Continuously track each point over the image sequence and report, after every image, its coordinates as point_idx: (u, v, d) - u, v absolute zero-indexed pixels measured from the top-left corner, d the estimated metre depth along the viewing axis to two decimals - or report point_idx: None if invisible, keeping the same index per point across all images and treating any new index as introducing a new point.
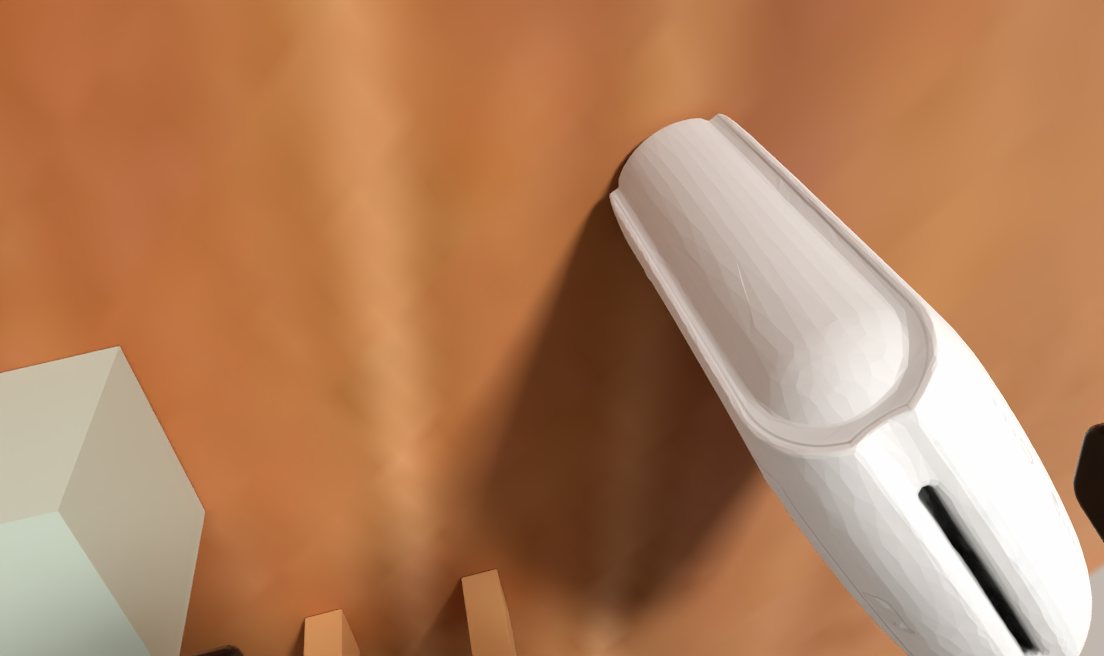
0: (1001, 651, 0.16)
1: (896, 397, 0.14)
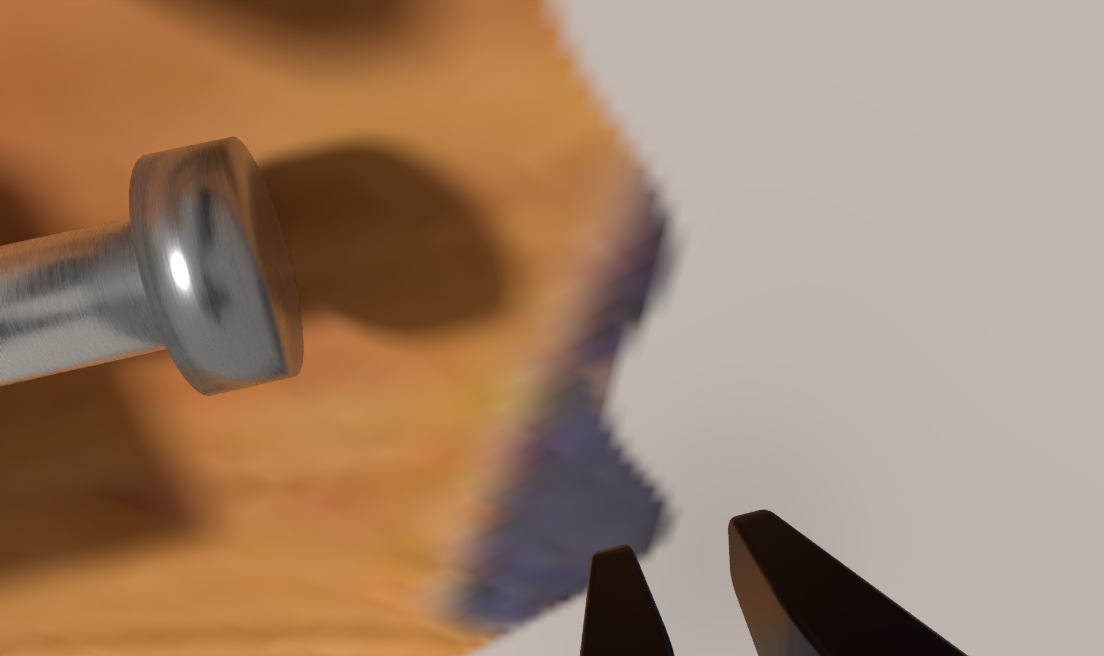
0: None
1: None
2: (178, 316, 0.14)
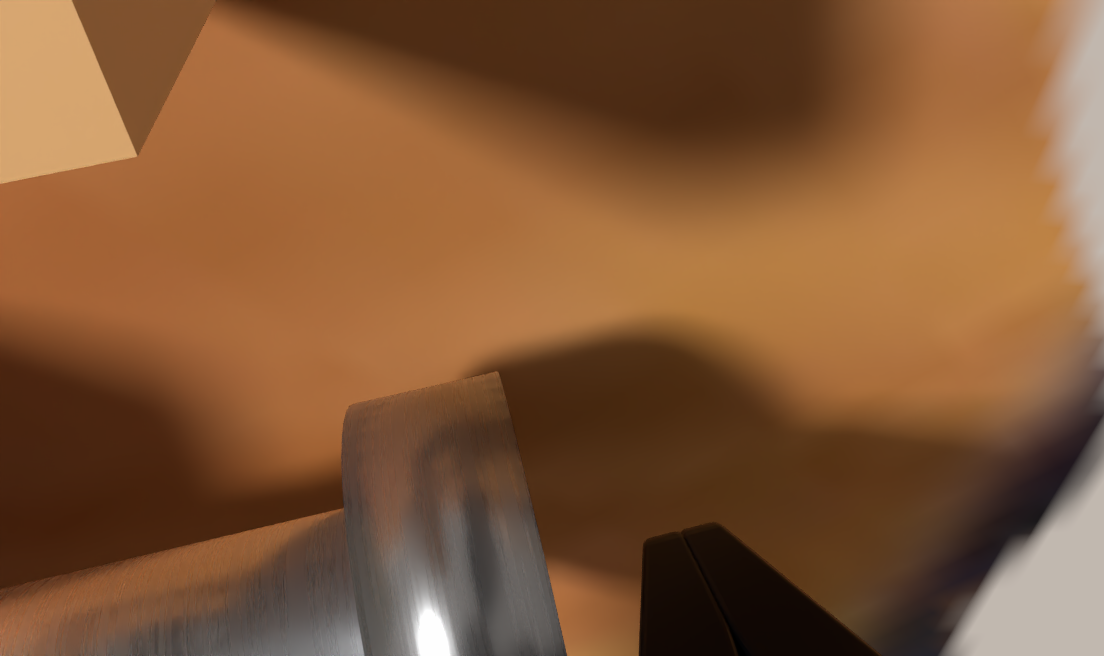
0: None
1: None
2: None
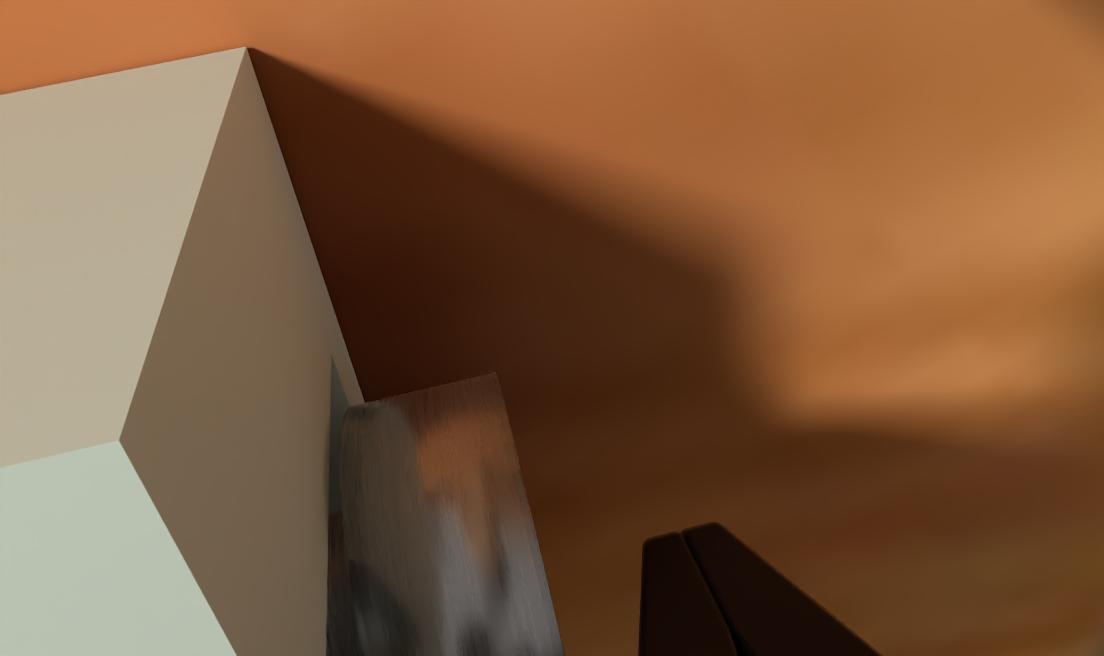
0: None
1: None
2: None
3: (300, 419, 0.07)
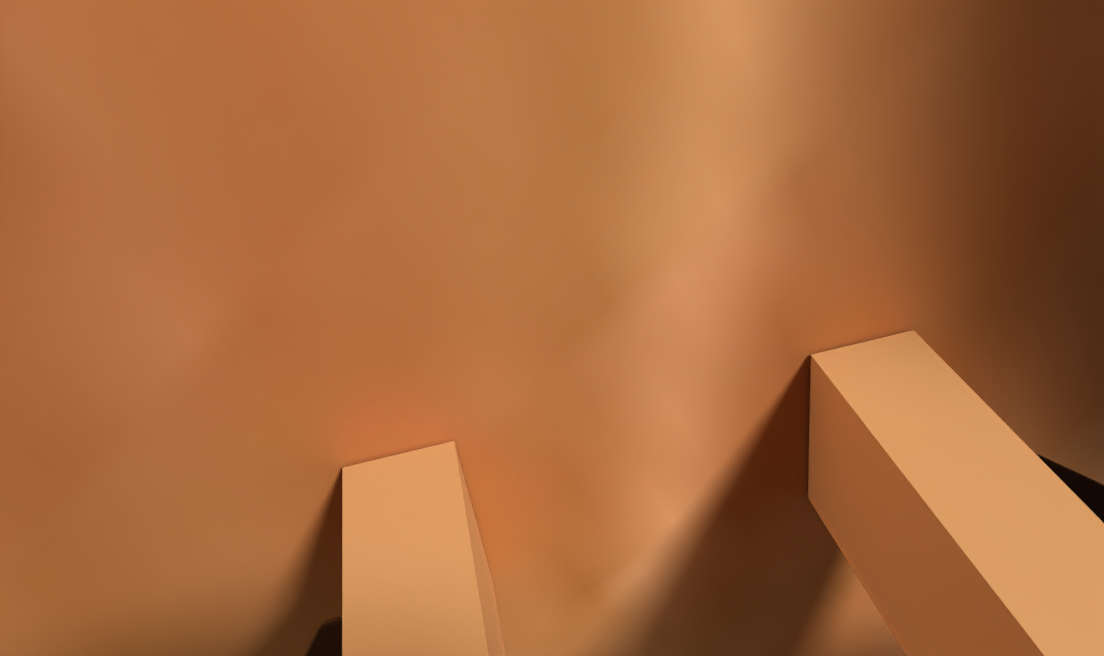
0: None
1: None
2: None
3: None
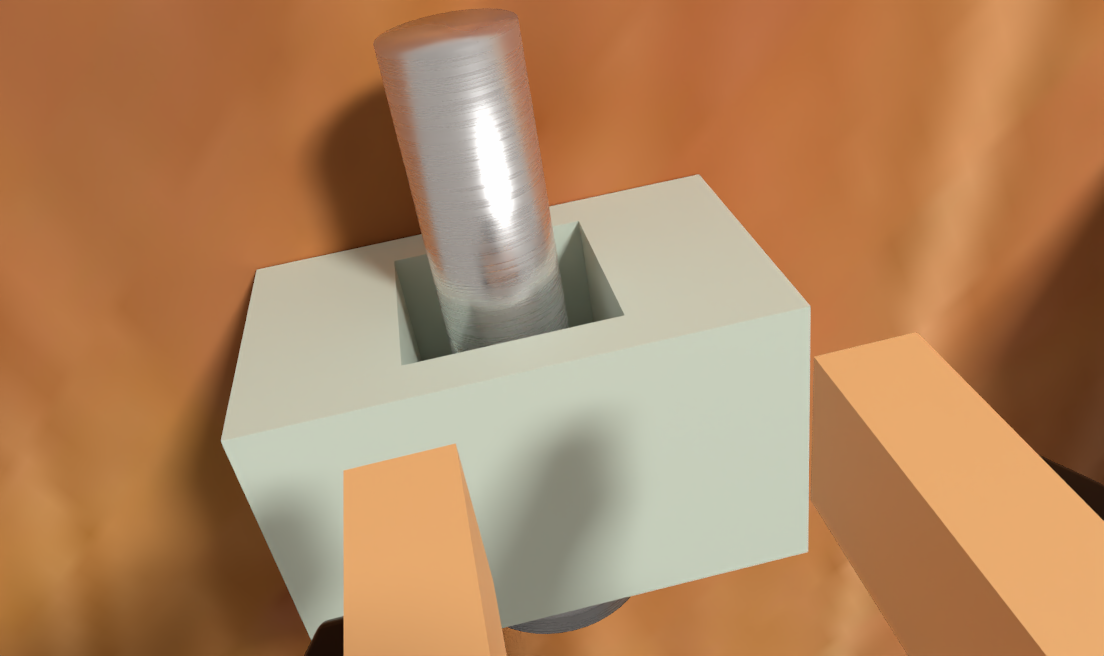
0: None
1: None
2: None
3: None
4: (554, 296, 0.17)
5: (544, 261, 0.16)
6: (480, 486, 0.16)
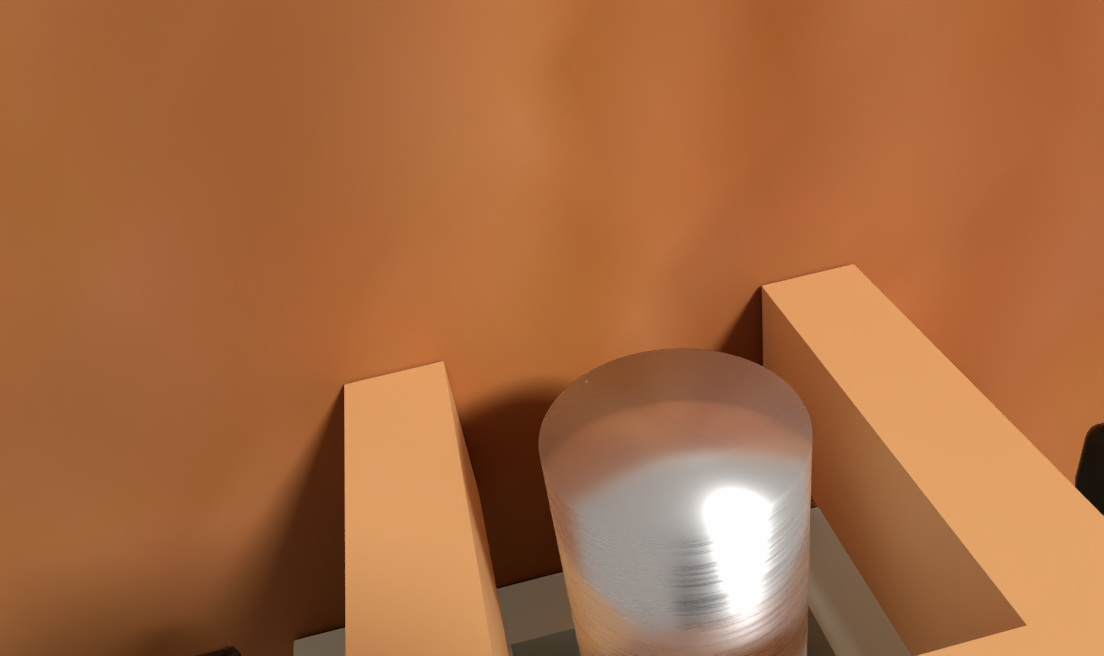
0: None
1: None
2: None
3: None
4: None
5: None
6: None
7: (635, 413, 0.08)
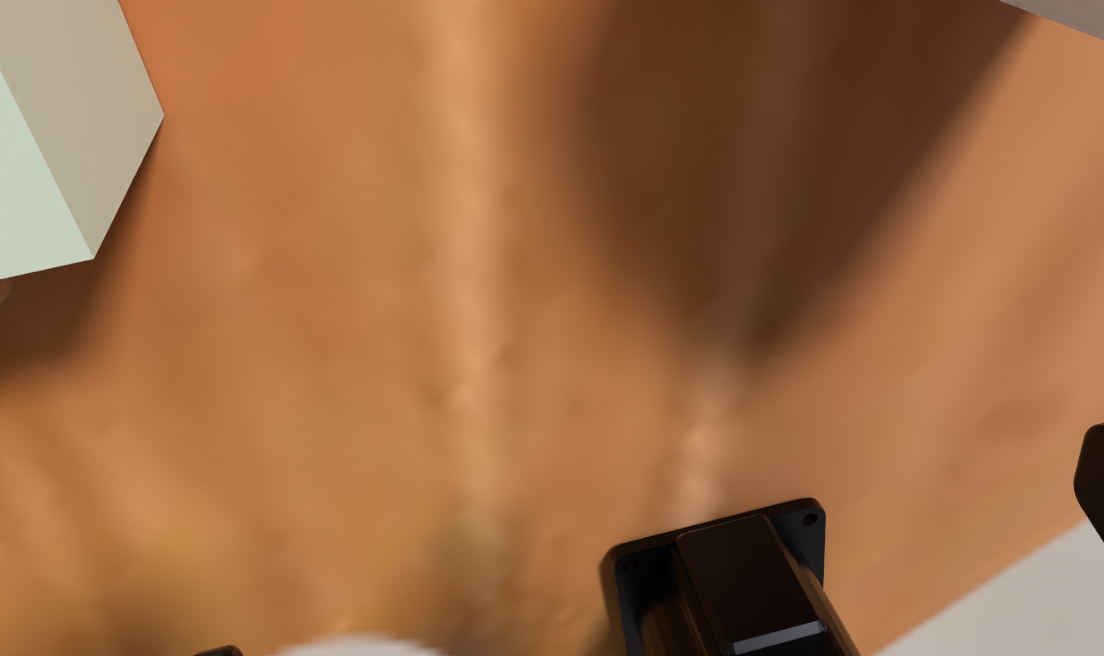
0: None
1: None
2: None
3: None
4: None
5: None
6: None
7: None
